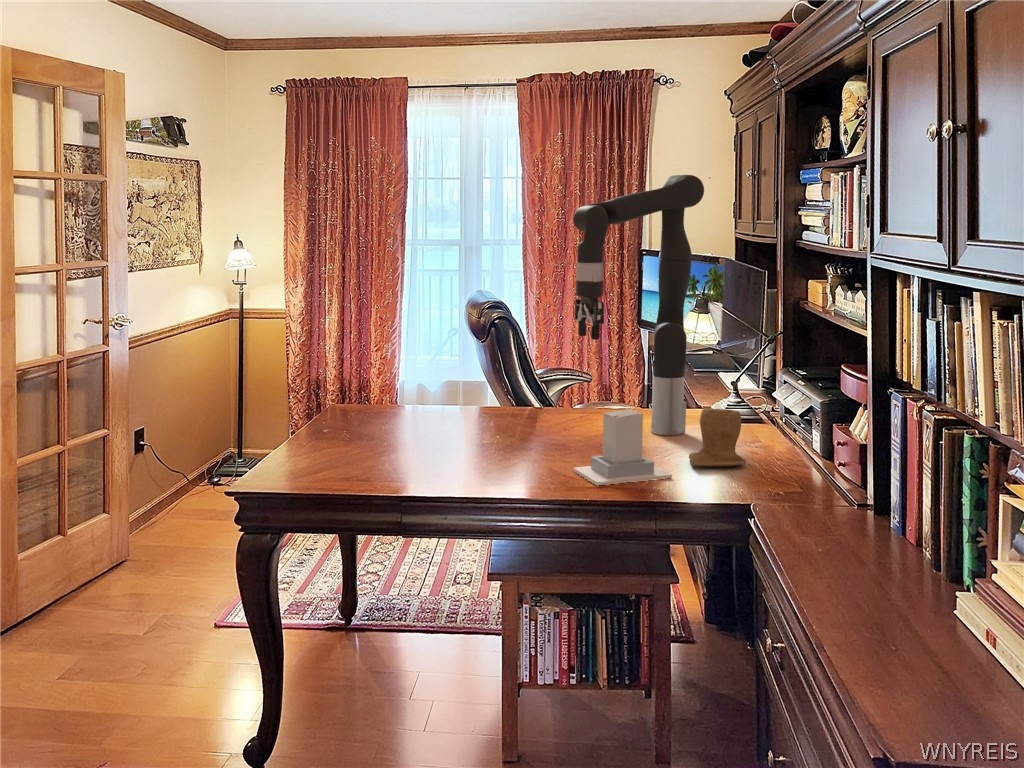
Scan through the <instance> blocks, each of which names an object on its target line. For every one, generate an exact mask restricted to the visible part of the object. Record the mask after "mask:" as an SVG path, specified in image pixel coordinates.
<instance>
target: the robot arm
mask: <svg viewBox="0 0 1024 768" xmlns="http://www.w3.org/2000/svg"><path fill="white" fill-rule="evenodd" d="M704 195H705V187H704V184H703V181H702V180H701V179H700V178H699V177H697V176H696V175H692V174H677V175H676V174H675V175H671V176H669V177H667V178H666V179H665V180H664V183H663V185H662V187H659V188H656V189H655V188H654V189H650V190H644V191H639V192H635V193H634V192H633V193H628V194H625V195H622V196H619V197H614V198H612V199H609V200H606V201H602V202H595V203H592V204H591V203H590V204H585V205H583V206H580V207H578V208H577V209H576V210H575V212H574V213H573V217H572V220H573V221H572V222H573V225H574V227H576V229H577V230H579V231H580V232H583V233H584V234H583V235H584V237H583V239H582V241H580V242H579V243H578V245H577V250H576V251H577V258H576V259H577V260H576V261H577V263H576V269H575V295H576V296H575V297H580V298H575V301H574V303H575V304H574V320H576V321H577V323H578V327H577V328H578V334H577V335H578V336H579V337H586V336H587V327H588V323H587V321H588V320H589V321H590V339H591V340H592V341H595V340H599V339H600V326H601V325H604V323H605V303H604V301H599V298H601V297H603V296H604V263H603V262H604V261H603V260H604V245H605V241H606V237H607V233H608V228H609V225H619V224H622V223H626V222H629V221H633V220H635V219H638V218H642V217H646V216H648V215H651V214H655V213H658V212H661V234H660V250H659V259H658V260H659V262H658V311H657V317H656V322H655V328H654V330H653V341H654V342H653V365H652V391H651V392H652V394H651V395H652V396H651V425H650V426H651V433H652V434H654V435H660V436H679V435H682V434H686V426H687V425H686V424H687V423H686V421H687V420H686V419H687V401H685V399H684V397H685V396H684V395H685V393H684V391H685V372H686V371H685V370H686V365H687V363H686V362H687V361H686V359H687V334H686V331H685V326H684V325H685V323H684V312H685V311H684V310H685V307H684V306H685V300H686V296H687V293H688V290H689V289H688V288H689V285H690V279H691V270H692V258H693V257H692V256H693V255H692V249H691V246H690V242H689V240H688V236H687V234H686V230H685V211H686V210H685V209H686V208H692V207H695V206H696V205H698V204H699V203H700V202H701V201H702V199H703V197H704Z"/></svg>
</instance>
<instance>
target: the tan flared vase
mask: <svg viewBox="0 0 1024 768" xmlns="http://www.w3.org/2000/svg"><path fill="white" fill-rule="evenodd" d="M699 427H700V431H701V438H702V441H701V442H702V447H701V449H700V450H699V451H696V452H691V453H689V454H688V459H689V463H690V467H692V468H724V467H735V466H737V467H738V466H744V465H747V461H746V459H745V458H743V457H742V456H740V455H738V454H737V452H736V446H737V442H738V439H739V437H740V434H741V429H742V415H741V413H740V411H738V410H733V409H722V408H709V407H707V408H703V409H702V410H701V413H700V417H699Z"/></svg>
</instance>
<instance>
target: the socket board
mask: <svg viewBox="0 0 1024 768" xmlns="http://www.w3.org/2000/svg"><path fill="white" fill-rule="evenodd" d="M573 471H574V474H576V475H578V474H579V476H580V477H581V476H582V477H581V478H583V477H584V478H583V479H585V480H586V479H587V480H586V481H588V482H589V481H590V482H589V483H591V482H592V483H591V484H593V483H594V484H595V485H594V484H593V485H594V486H596V485H597V486H596V487H600V486H599V485H606V486H609V485H608V484H615V485H618V484H617V483H623V482H633V481H641V480H642V481H643V480H652V479H663V478H672V479H673V474H671V473H669V472H667V471H665V470H663V469H661V468H659V467H658V466H655V461H653V460H651V459H648V458H647V457H645V456H643V455H642V462H634V463H623V464H613V465H610V464H608V463H606V462H605V461H603V455H595V456H590V465H589V466H587V465H586V466H577V467H573ZM573 471H572V472H573Z"/></svg>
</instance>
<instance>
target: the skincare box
mask: <svg viewBox="0 0 1024 768" xmlns="http://www.w3.org/2000/svg"><path fill="white" fill-rule="evenodd" d="M602 414H603V418H602V419H603V420H602V421H603V422H602V424H603V426H602V427H603V428H602V434H603V435H602V456H603V461H605V462H606V463H608V464H610V465H613V464H623V463H634V462H642V456H643V435H644V434H643V430H644V428H643V427H644V425H643V424H644V422H643V421H644V414H643V412H639V411H635V410H633V409H631V408H627V409H623V410H617V411H616V410H615V411H609V412H603V413H602Z"/></svg>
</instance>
